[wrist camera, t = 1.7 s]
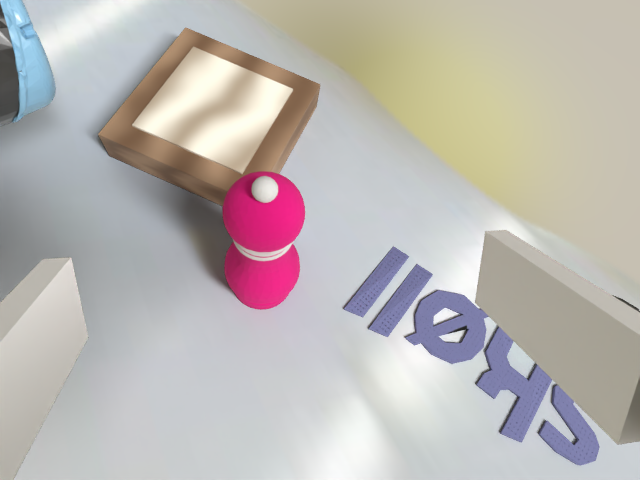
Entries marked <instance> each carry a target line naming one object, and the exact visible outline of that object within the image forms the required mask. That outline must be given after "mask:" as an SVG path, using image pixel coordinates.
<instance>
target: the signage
mask: <svg viewBox="0 0 640 480" xmlns="http://www.w3.org/2000/svg"><path fill="white" fill-rule="evenodd" d="M408 257H409V256H407V255H406V254H404V253H403V252H401V251H400V250H398V249H397V248H395V247H394V246H393V248H392V249H391V250H390V251H389V253H388V254H387V255H386V256H385V258H384V259H383V260H382V262H381V263H380V264H379V265H378V267H377V268H376V269H375V270H374V272H373V273H372V274H371V275H370V277H369V278H368V279H367V280H366V282H365V283H364V284H363V286H362V287H361V288H360V289H359V291H358V292H357V293H356V294H355V296H354V297H353V298H352V299H351V301H350V302H349V303H348V305H347V306H346V307H345V308H344V310H346V311H349V312H351V313H354V314H356V315H358V316H361V317H363V316H364V315H365V314H366V313H367V311H368V310H369V309H370V307H371V306H372V305H373V303H374V302H375V301H376V299H377V298H378V297H379V295H380V294H381V293H382V292H383V290H384V289H385V288H386V286H387V285H388V284H389V282H390V281H391V280H392V278H393V277H394V276H395V274H396V273H397V272H398V271H399V269H400V268H401V267H402V265H403V264H404V263H405V261H406V260H407V259H408ZM432 275H433V274H432V273H430V272H428V271H427V270H425V269H424V268H422V267H421V266H419V265H418V264H416V266H415V267H414V268H413V270H412V271H411V272H410V274H409V275H408V276H407V278H406V279H405V280H404V282H403V283H402V285H401V286H400V287H399V289H398V290H397V291H396V293H395V294H394V295H393V297H392V298H391V299H390V301H389V302H388V303H387V305H386V306H385V307H384V309H383V310H382V311H381V313H380V314H379V315H378V317H377V318H376V319H375V321H374V322H373V323H372V325H371V326H370V328H369V329H370V330H372V331H374V332H377V333H379V334H382V335H384V336H386V337H388V336H389V335H390V333H391V332H392V330H393V329H394V328H395V326H396V325H397V324H398V322H399V321H400V319H401V318H402V317H403V315H404V314H405V312H406V311H407V310H408V308H409V307H410V306H411V304H412V303H413V301H414V300H415V299H416V297H417V296H418V294H419V293H420V292H421V290H422V289H423V288H424V286H425V285H426V283H427V282H428V281H429V279H430V278H431V276H432ZM443 308H448V309H450V310H453V311H455V312H457V313H459V314H461V316H458V317H456V318H454V319H451V320H449V321H446V322H444V323H441V324H439V325H436V326H434V327H433V316H434V315H435V314H437V313H438V312H439V311H441V310H442V309H443ZM486 317H489V316H488V315H487V314H486V313H485V312H484V311H483V310H482V309H478V308H477V307H476V306H475V305H474V304H473V303H472V302H471V301H470V300H469V299H467V298H466V297H465V296H464V295H461V294H456V293H451V292H446V291H441V290H438V291H436V292H434V293H432V294H430V295H429V296H427V297H426V298H424V299H423V300H422V301H421V302H420V303H419V306H418V308H417V310H416V314H415V317H414V321H415V330H416V333H415V334H413V335H410V336H408V337H405V338H406V339H407V340H408V341H409V342H411V343H412V344H413V345H417V344H420V343H421V344H422V345H423V346H424V347H425V348H426V349H427V351H428V352H429V353H430V354H431V355H434V356H436V357H438V358H440V359H442V360H444V361H447V362H449V363H451V364H453V363H457V362H462V361H466V360H471V359H472V358H473V357H474V356H475V355H476V354H477V353H478V352H479V351H480V350H481V349H482V348H483V347H484V341H485V334H486V327H485V323H484V318H486ZM465 329H468V330H467V334H466V335H465V337H464V339H463V341H462V342H461V343H446V342H444V341H443V340H442V339H441V338H439V337H438V336H441V335H445V334H449V333H453V332H457V331H461V330H465ZM512 343H513V340H512V339H511V338H510V337H509V336H508V335H507V334H506V333H505V332H504V331H503V330H502V329H501V328H500V327H498V329H497V331H496V333H495V334H494V336H493V338H492V340H491V342H490V344H489V346H488V348H487V350H486V352H485V355H486V359H487V362H488V364H489V367H490V369H491V371H488V372H486V373H484V374H483V375H482V376H481V378H480V379H479V381H478V383H477V384H476V385H477V386H478V387H479V388H480V389H482V390H483V391H484V392H486V393H487V394H488V395H489V396H491V397H492V398H493V399H495V398H496V396H497V394H498V393H499V391H500V390H510V391H511V392H512V393H514V394H515V395H516V396H518V397H519V398H518V400H517V402H516V404H515V406H514V408H513V410H512V411H511V413H510V415H509V417H508V419H507V421H506V423H505V425H504V427H503V428H502V430H501V432H500V434H502V435H505V436H507V437H509V438H512V439H514V440H516V441H519V442H522V441H523V439H524V437H525V435H526V432H527V430H528V428H529V426H530V424H531V422H532V420H533V418H534V416H535V414H536V412H537V410H538V408H539V406H540V404H541V402H542V400H543V397H544V395H545V393H546V391H547V389H548V387H549V385H550V383H551V381H552V379H551V378H550V377H549V376H548V375H547V374H546V373H545V372H544V371H543V370H542V369H541V368H540V367H539V366H538V365H536V366H535V368H534V370H533V372H532V374H531V376H530V378H529V380H527V379H526V378H525V377H524V376H522V375H521V374H520V373H518V372H517V371H516V370H515V369H513V368H512V367H511V366H510V364H509V362H508V359H507V354H508V352H509V350H510V348H511V346H512ZM573 403H574V401H573V400H572V399H571V398H570V397H569V396H568V395H567V394H566V393H565V392H564V391H563V390H562V389H561V388H560V387H559V386H558V385H555V387H554V388H553V392H552V404H553V406H554V407H555V409H556V410H557V412H558V413H559V414H560V416H561V417H562V419H563V420H564V422H565V423H566V425H567V426H568V427H569V429H570V430H571V432H572V433H573V435H574V436H575V437H576V439H577V441H576V443H575V444H574V445H573V444H572V443H571V442H570V441H569V440H568V439H567V438H566V437H565V436H563V435H562V434H561V433H560V432H559V431H558V430H557V429H556V428H555V427H554V426H553V425H551V424H550V423H549V422H548V421H545V423H544V424H543V426H542V428H541V430H540V432H539V435H540V436H541V438H542V439H543V440H544V441H545V442H546V443H547V444H548V445H549V446H550V447H551V448H552V449H553V450H554V451H555V452H556V453H558V454H560V455H561V456H563V457H565V458H566V459H568V460H570V461H571V462H573V463H575V464H577V465H584V464H587V463H590V462H593V461H595V460H596V457H597V454H598V450H599V444H598V441H597V438H596V435H595V433H594V432H593V430H592V429H591V428H590V426H589V425H588V424H587V422H586V421H585V420H584V418H583V417H582V416H581V414H580V413H579V412H578V410H577V409H576V408H575V406H574V405H573Z"/></svg>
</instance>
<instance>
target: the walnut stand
mask: <svg viewBox="0 0 640 480" xmlns="http://www.w3.org/2000/svg"><path fill="white" fill-rule="evenodd" d="M319 90H320V84H318V83H316V82H313V81H311V80H309V79H306V78H304V77H301V76H299V75H297V74H294V73H292V72H290V71H287V70H285V69H283V68H280V67H278V66H275V65H273V64H271V63H268V62H266V61H264V60H261V59H259V58H257V57H254V56H252V55H249V54H247V53H245V52H242V51H240V50H238V49H235V48H233V47H231V46H228V45H226V44H223V43H221V42H219V41H216V40H214V39H212V38H209V37H207V36H205V35H202V34H200V33H197V32H195V31H193V30H190V29H188V28H185V29H184V30H183V31H182V33H181V34H180V35H179V36H178V37H177V39H176V40H175V41H174V42H173V44H172V45H171V46H170V47H169V48H168V50H167V51H166V52H165V53H164V55H163V56H162V57H161V58H160V59H159V61H158V62H157V63H156V64H155V65H154V67H153V68H152V69H151V70H150V72H149V73H148V74H147V75H146V76H145V78H144V79H143V80H142V81H141V83H140V84H139V85H138V86H137V87H136V89H135V90H134V91H133V92H132V94H131V95H130V96H129V97H128V98H127V100H126V101H125V102H124V103H123V105H122V106H121V107H120V108H119V109H118V111H117V112H116V113H115V114H114V115H113V117H112V118H111V119H110V120H109V122H108V123H107V124H106V125H105V126H104V128H103V129H102V130H101V131H100V133H99V134H98V135H99V137H100V139H101V141H102V143H103V145H104V147H105V149H106V150H107V152H108V154H109V156H111V157H113V158H115V159H117V160H120V161H122V162H124V163H126V164H129V165H131V166H133V167H135V168H138V169H140V170H142V171H144V172H147V173H149V174H151V175H153V176H156V177H158V178H160V179H162V180H165V181H167V182H169V183H171V184H174V185H176V186H178V187H180V188H183V189H185V190H187V191H189V192H192V193H194V194H196V195H198V196H201V197H203V198H205V199H207V200H210V201H212V202H214V203H216V204H219V205H221V206H223V203H224V199H225V196H226V194H227V192H228V190H229V189H230V188H231V186H232V185H233V184H234V183H235V182H236V181H237V180H238V179H240V178H241V177H243V176H245V175H247V174H250V173H254V172H261V171H267V172H274V173H277V174H279V173H280V171H281V169H282V168H283V166H284V164H285V162H286V160H287V159H288V157H289V155H290V153H291V151H292V150H293V148H294V146H295V144H296V142H297V141H298V139H299V137H300V135H301V134H302V132H303V130H304V128H305V126H306V125H307V123H308V121H309V119H310V117H311V116H312V114H313V112H314V110H315V109H316V106H317V101H318V95H319Z"/></svg>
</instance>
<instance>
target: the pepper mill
mask: <svg viewBox="0 0 640 480" xmlns="http://www.w3.org/2000/svg"><path fill="white" fill-rule="evenodd" d="M304 219H305V206H304V202H303V198H302V196H301V194H300V192H299V190H298V189H297V187H296V186H295V185H294V184H293V183H292V182H291V181H290V180H289V179H287V178H286V177H284V176H282V175H280V174H277V173H274V172H267V171H261V172H254V173H250V174H247V175H245V176H243V177H241V178H240V179H238V180H237V181H236V182H235V183H234V184H233V185H232V186H231V188H230V189H229V190H228V192H227V194H226V196H225V199H224V203H223V220H224V225H225V227H226V229H227V231H228V233H229V235H230V236H231V237H232V238H233V243H232V244H231V246H230V247H229V249H228V251H227V254H226V258H225V267H224V269H225V276H226V280H227V282H228V284H229V286H230V288H231V289H232V290H233V291H234V293H235V295H236V296H237V298H238V299H239V300H240V301H241V302H242V303H243V304H245V305H247V306H248V307H251V308H254V309H269V308H273V307H275V306H277V305H278V304H280V303H281V302H283V301H284V299H285V298H286V297H287V296H288V294H289V292H290V291H291V290H292V289H293V288H294V286H295V284H296V282H297V280H298V277H299V272H300V264H299V256H298V253H297V250H296V248H295V246H294V245H293V241H294V240H295V238H296V237H297V236H298V235H299V233H300V231H301V229H302V226H303V223H304Z"/></svg>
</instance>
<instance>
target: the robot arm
mask: <svg viewBox="0 0 640 480" xmlns="http://www.w3.org/2000/svg"><path fill="white" fill-rule="evenodd" d="M55 90H56V88H55V81H54V77H53V73H52V70H51V67H50V64H49V61H48V59H47V56H46V53H45V51H44V48H43V46H42V44H41V41H40V39H39V37H38V35H37V33H36V32H35V31H34V29H33V25H32V22H31V20H30V18H29V15H28V12H27V10H26V8H25V6H24V4H23V2H22V0H0V126H2V125H5V124H8V123H11V122H12V123H14V122H17V121H19V120H20V119H21V118H22V117H23V116H25V115H27V114H29V113H32V112H34V111H36V110H38V109H41V108H43V107H45V106H47V105H48V104H50V102H51V101H52V100H53V98H54V95H55ZM475 303H476V304H477V305H478V306H479V307H480V308H481V309H482V310H483V311H484V312H485V313H486V314H487V315H488V316H489V317H490V318H491V319H492V320H493V321H494V322H495V323H496V324H497V325H498V326H499V327H500V328H501V329H502V330H503V331H504V332H505V333H506V334H507V335H508V336H509V337H510V338H511V339H512V340H513V341H514V342H515V343H516V344H517V345H518V346H519V347H520V348H521V349H522V350H523V351H524V352H525V353H526V354H527V355H528V356H529V357H530V358H531V359H532V360H533V361H534V362H535V363H536V364H537V365H538V366H539V367H540V368H541V369H542V370H543V371H544V372H545V373H546V374H547V375H548V376H549V377H550V378H551V379H552V380H553V381H554V382H555V383H556V384H557V385H558V386H559V387H560V388H561V389H562V390H563V391H564V392H565V393H566V394H567V395H568V396H569V397H570V398H571V399H572V400H573V401H574V402H575V403H576V404H577V405H578V406H579V407H580V408H581V409H582V410H583V411H584V412H585V413H586V414H587V415H588V416H589V417H590V418H591V419H592V420H593V421H594V422H595V423H596V424H597V425H598V426H599V427H600V428H601V429H602V430H603V431H604V432H605V433H606V434H607V435H608V436H609V437H610V438H611V439H612V440H613V441H614V442H615V443H616V444H617V445H619V444H625V443H632V442H638V441H640V311H639V309H638V308H636V307H634V306H633V305H631V304H629V303H628V302H626V301H625V300H623V299H621V298H618V297H616V296H613V295H611V294H609V293H607V292H606V291H604V290H603V289H601V288H599V287H598V286H596V285H594V284H593V283H591V282H590V281H588V280H586V279H585V278H583V277H581V276H580V275H578V274H577V273H575V272H573V271H572V270H570V269H568V268H567V267H565V266H564V265H562V264H560V263H559V262H557V261H555V260H554V259H552V258H551V257H549V256H547V255H546V254H544V253H543V252H541V251H539V250H538V249H536V248H534V247H533V246H531V245H530V244H528V243H526V242H525V241H523V240H521V239H520V238H518V237H517V236H515V235H513V234H512V233H510V232H508V231H507V230H499V231H485V238H484V245H483V251H482V258H481V265H480V272H479V279H478V285H477V292H476V299H475ZM88 338H89V337H88V332H87V328H86V323H85V319H84V314H83V309H82V305H81V300H80V296H79V291H78V286H77V282H76V277H75V273H74V268H73V263H72V259H71V257H68V258H52V259H42V260H41V261H40V262H39V263H38V264H37V265H36V267H35V268H34V269H33V270H32V271H31V272H30V273H29V274H28V275H27V276H26V277H25V278H24V279H23V280H22V281H21V282H20V283H19V284H18V285H17V286H16V287H15V288H14V289H13V290H12V291H11V292H10V293H9V294H8V295H7V296H6V297H5V298H4V299H3V301H2V302H1V303H0V480H14V478H15V476H16V474H17V472H18V470H19V468H20V466H21V464H22V463H23V461H24V459H25V457H26V455H27V453H28V451H29V449H30V447H31V445H32V444H33V442H34V440H35V438H36V436H37V434H38V432H39V430H40V428H41V427H42V425H43V423H44V421H45V419H46V417H47V415H48V413H49V411H50V409H51V408H52V406H53V404H54V402H55V400H56V398H57V396H58V394H59V392H60V391H61V389H62V387H63V385H64V383H65V381H66V379H67V377H68V375H69V374H70V372H71V370H72V368H73V366H74V364H75V362H76V360H77V358H78V356H79V355H80V353H81V351H82V349H83V347H84V345H85V343H86V341H87V339H88Z"/></svg>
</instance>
